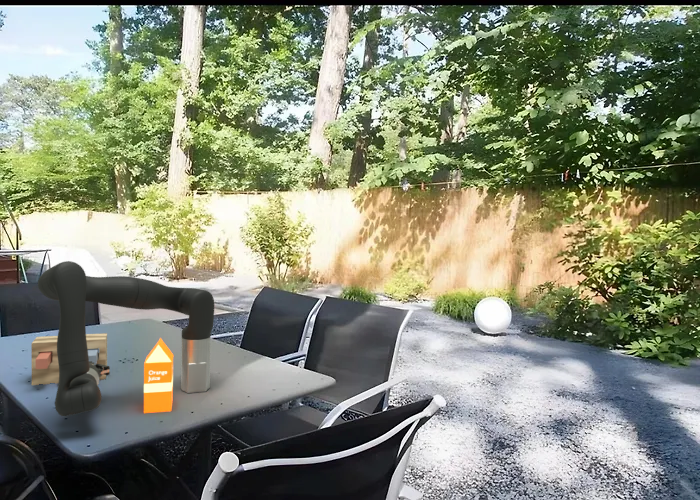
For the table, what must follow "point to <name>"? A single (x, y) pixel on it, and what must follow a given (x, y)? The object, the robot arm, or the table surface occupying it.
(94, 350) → the blue key
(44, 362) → the red key
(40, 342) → the key box
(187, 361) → the robot arm
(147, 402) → the orange juice
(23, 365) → the table surface
